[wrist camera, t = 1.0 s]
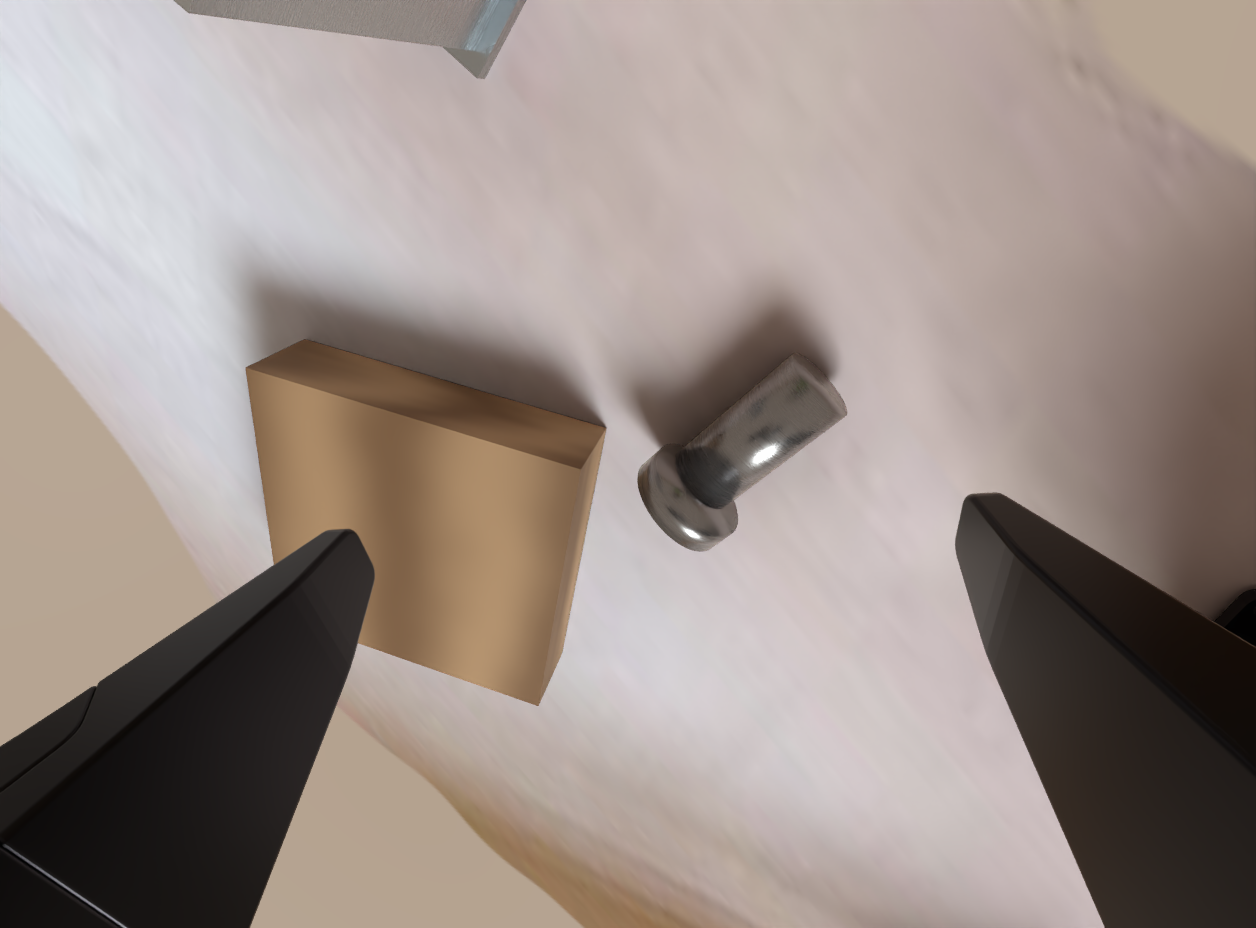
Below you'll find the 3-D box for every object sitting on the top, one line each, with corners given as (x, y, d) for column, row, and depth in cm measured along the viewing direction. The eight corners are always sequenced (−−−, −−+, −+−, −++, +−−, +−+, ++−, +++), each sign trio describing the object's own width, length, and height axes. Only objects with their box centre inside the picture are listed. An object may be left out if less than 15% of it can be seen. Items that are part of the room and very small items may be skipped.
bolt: (779, 329, 20) (773, 371, 17) (858, 408, 20) (866, 463, 17) (651, 444, 23) (626, 497, 20) (722, 510, 23) (708, 572, 20)
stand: (606, 428, 23) (581, 469, 20) (562, 653, 29) (538, 706, 27) (304, 339, 24) (245, 367, 22) (325, 573, 30) (281, 616, 28)
